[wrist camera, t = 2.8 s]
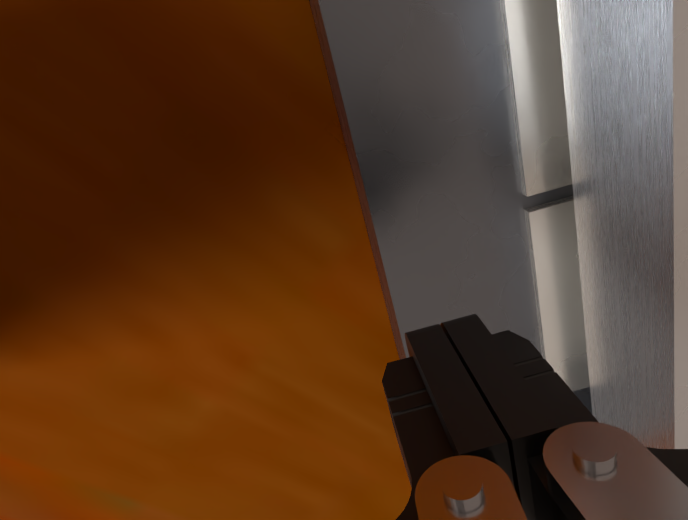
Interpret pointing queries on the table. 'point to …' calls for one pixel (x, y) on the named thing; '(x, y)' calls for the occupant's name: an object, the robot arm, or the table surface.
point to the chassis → (463, 165)
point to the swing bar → (631, 207)
